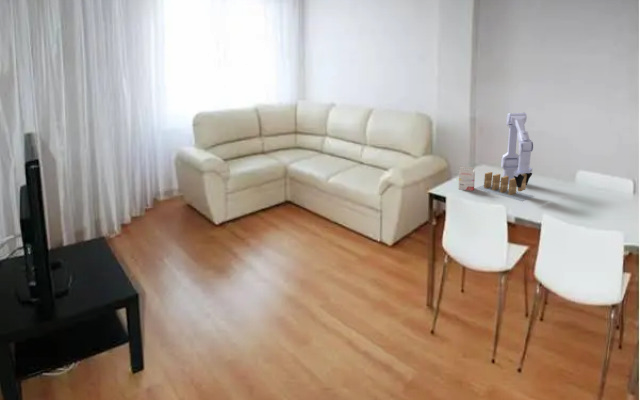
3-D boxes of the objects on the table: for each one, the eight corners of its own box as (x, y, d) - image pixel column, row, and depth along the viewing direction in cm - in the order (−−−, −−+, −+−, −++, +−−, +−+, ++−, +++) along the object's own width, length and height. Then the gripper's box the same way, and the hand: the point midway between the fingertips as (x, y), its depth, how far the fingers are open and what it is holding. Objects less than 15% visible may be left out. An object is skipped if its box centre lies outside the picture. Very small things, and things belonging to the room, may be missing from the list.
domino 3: (499, 192, 278) (501, 177, 275) (505, 190, 281) (506, 175, 277) (502, 192, 277) (503, 178, 274) (507, 190, 279) (508, 176, 276)
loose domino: (517, 190, 268) (519, 175, 265) (522, 188, 271) (524, 173, 268) (520, 191, 267) (521, 176, 264) (525, 189, 269) (526, 174, 266)
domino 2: (491, 190, 282) (492, 175, 279) (496, 188, 285) (498, 173, 282) (494, 190, 281) (495, 176, 278) (499, 188, 284) (500, 174, 280)
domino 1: (483, 187, 286) (484, 173, 283) (489, 186, 289) (490, 171, 286) (486, 188, 285) (487, 174, 282) (491, 186, 288) (492, 172, 285)
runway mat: (487, 184, 293) (487, 183, 293) (534, 196, 269) (534, 196, 269) (475, 188, 287) (475, 188, 287) (521, 202, 263) (522, 201, 263)
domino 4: (508, 194, 274) (509, 179, 271) (513, 192, 276) (514, 177, 273) (510, 195, 272) (512, 180, 269) (515, 193, 275) (517, 178, 272)
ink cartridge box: (474, 189, 287) (475, 165, 282) (472, 191, 283) (474, 167, 278) (459, 187, 291) (461, 164, 286) (458, 189, 287) (459, 166, 282)
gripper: (523, 166, 256) (520, 190, 261) (538, 161, 264) (535, 184, 269) (511, 164, 262) (509, 187, 266) (526, 159, 270) (524, 182, 274)
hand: (521, 186), depth 268 cm, fingers closed on loose domino, 5 cm apart
